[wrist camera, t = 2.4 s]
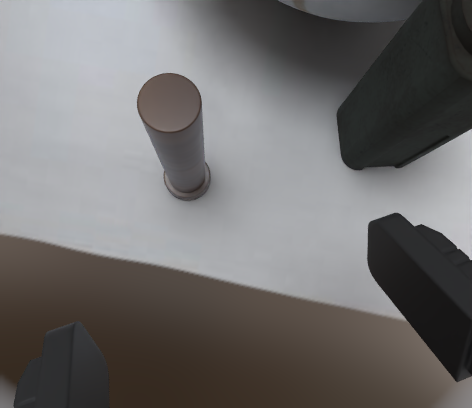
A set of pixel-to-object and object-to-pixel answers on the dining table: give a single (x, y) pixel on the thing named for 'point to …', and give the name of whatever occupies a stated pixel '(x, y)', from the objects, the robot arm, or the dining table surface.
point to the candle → (412, 90)
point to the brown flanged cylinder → (176, 132)
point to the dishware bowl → (357, 9)
